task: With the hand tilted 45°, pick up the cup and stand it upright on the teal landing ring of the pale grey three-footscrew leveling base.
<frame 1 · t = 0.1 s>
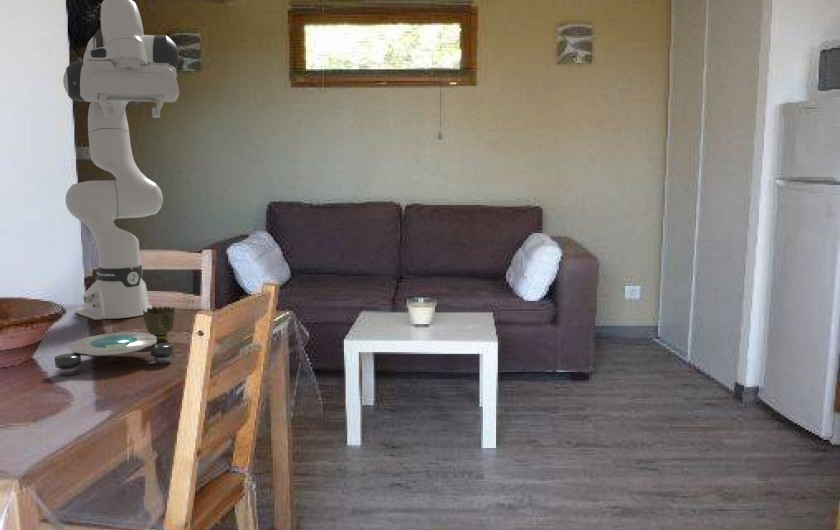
hand: (133, 116, 160), 54 cm above the table, tool tilted 30°, fingers open, 8 cm apart
cup: (160, 341, 186), on the table
leveling base: (115, 361, 167), on the table
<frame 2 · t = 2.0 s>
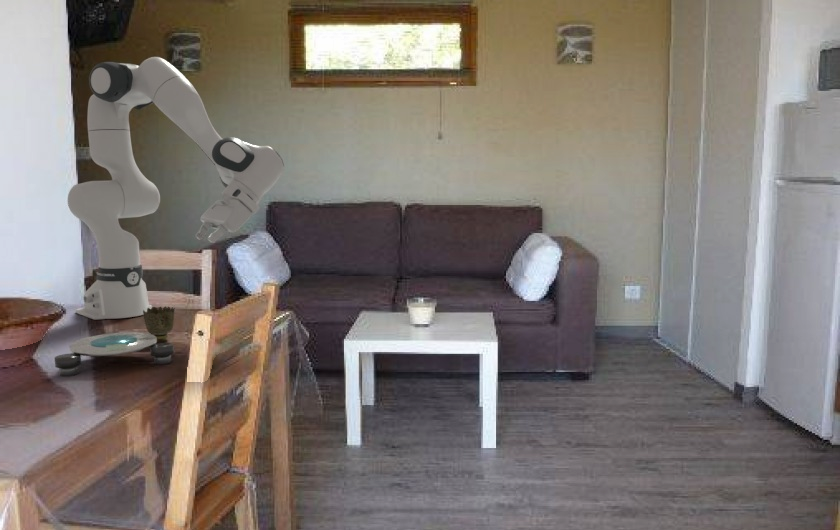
hand: (203, 239, 189), 24 cm above the table, tool tilted 45°, fingers open, 8 cm apart
nothing on the table moved.
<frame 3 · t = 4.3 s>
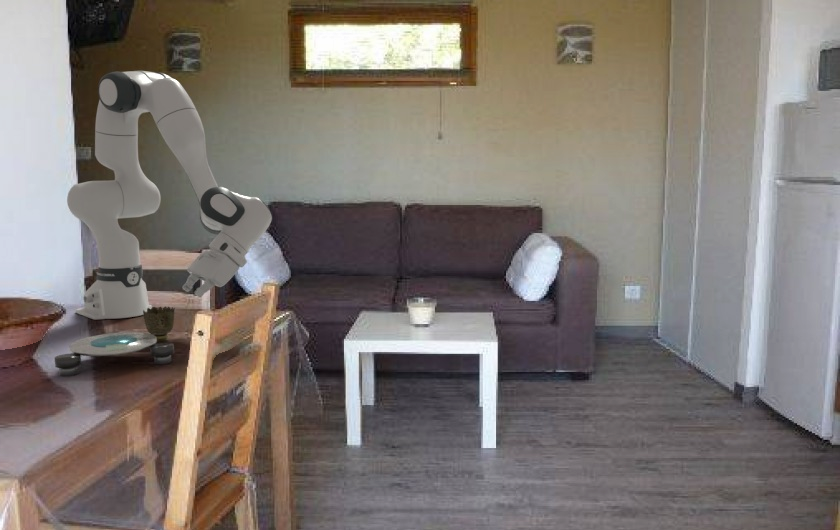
hand: (190, 292, 189), 11 cm above the table, tool tilted 45°, fingers open, 8 cm apart
nothing on the table moved.
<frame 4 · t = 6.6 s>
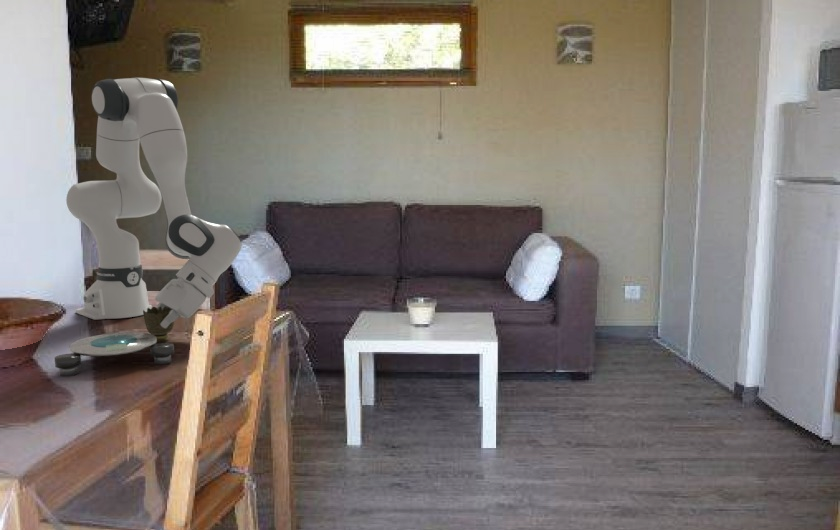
hand: (157, 323, 185), 4 cm above the table, tool tilted 45°, fingers closed on cup, 7 cm apart
cup: (160, 341, 186), on the table, touching gripper
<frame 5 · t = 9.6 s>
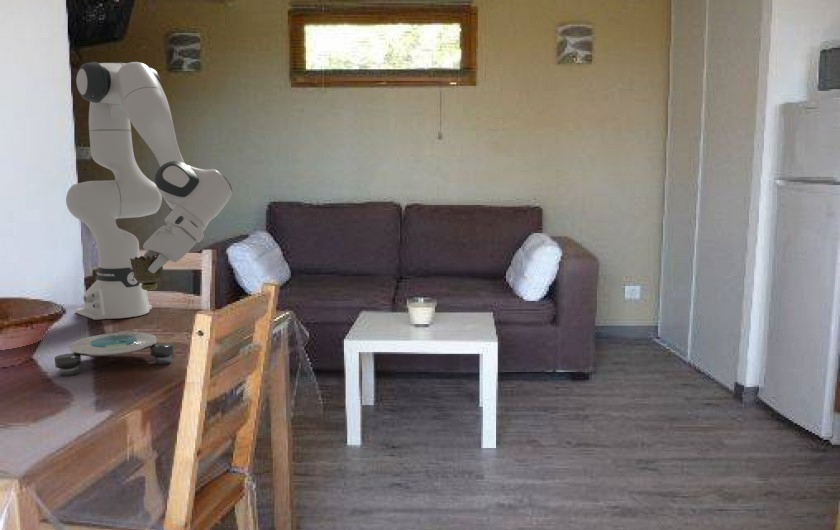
hand: (145, 269, 178), 19 cm above the table, tool tilted 45°, fingers closed on cup, 7 cm apart
cup: (149, 290, 179), point 14 cm above the table, touching gripper
when the fingers open (11 cm above the table, at t = 12.9 s): cup moves 2 cm, resting on leveling base.
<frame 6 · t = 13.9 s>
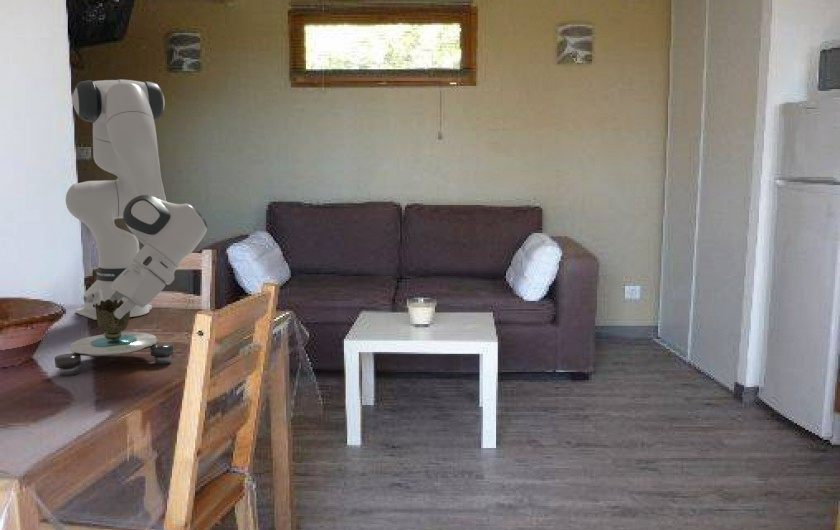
hand: (110, 313, 165), 11 cm above the table, tool tilted 45°, fingers open, 8 cm apart
cup: (112, 338, 167), point 5 cm above the table, touching gripper, leveling base
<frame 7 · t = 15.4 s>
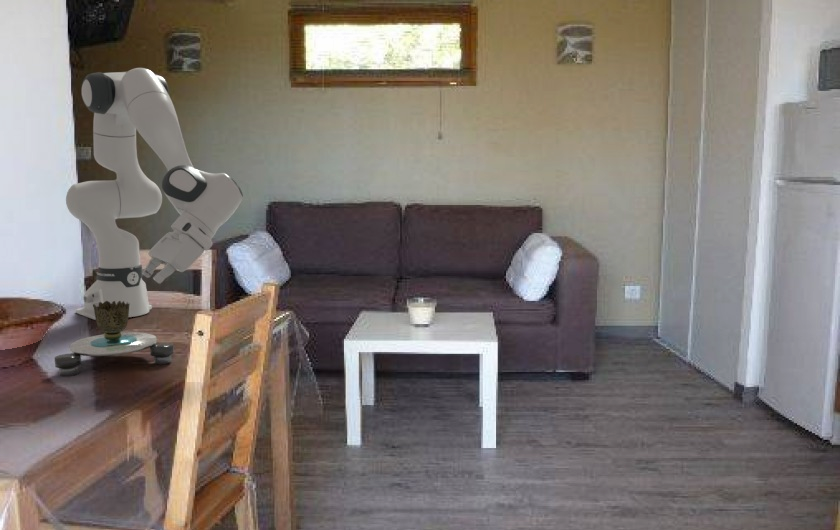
hand: (150, 278, 169), 18 cm above the table, tool tilted 45°, fingers open, 8 cm apart
cup: (113, 339, 167), point 5 cm above the table, touching leveling base
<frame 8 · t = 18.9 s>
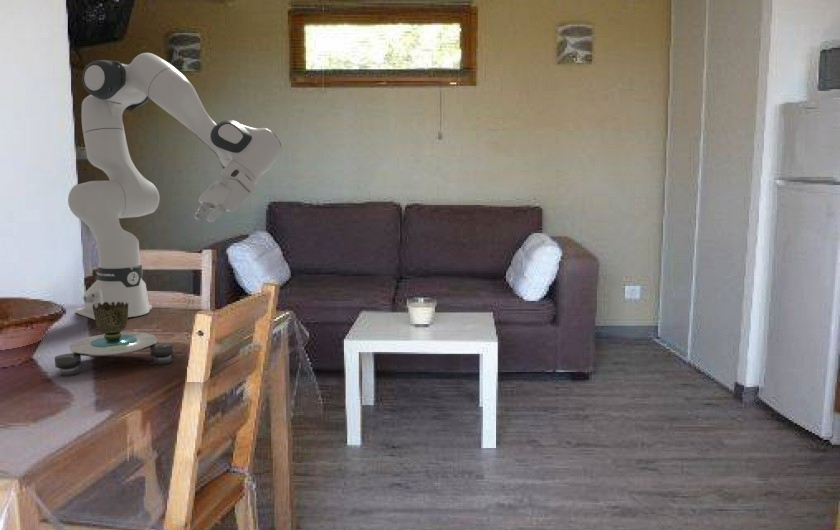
hand: (202, 219, 191), 29 cm above the table, tool tilted 45°, fingers open, 8 cm apart
nothing on the table moved.
at the end: cup 1.6 cm off-centre on the leveling base, point 4.7 cm above the leveling base's base; cup tilted 0°; the gripper is holding nothing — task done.
